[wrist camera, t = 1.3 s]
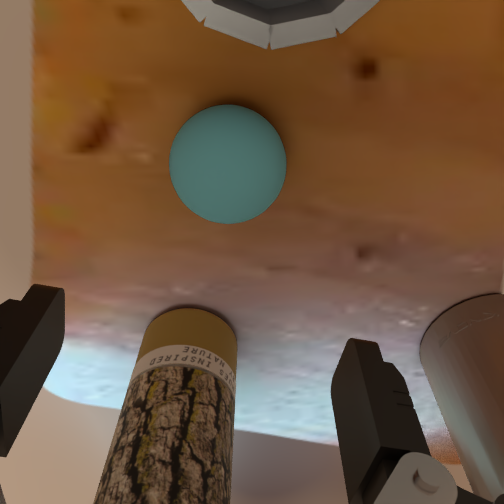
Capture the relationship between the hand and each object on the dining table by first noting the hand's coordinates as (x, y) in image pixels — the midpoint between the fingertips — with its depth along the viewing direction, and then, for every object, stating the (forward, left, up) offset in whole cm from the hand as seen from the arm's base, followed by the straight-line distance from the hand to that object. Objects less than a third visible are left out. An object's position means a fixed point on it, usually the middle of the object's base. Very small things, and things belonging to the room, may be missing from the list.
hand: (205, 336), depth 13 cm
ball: (0, 0, -13) cm, 13 cm away
